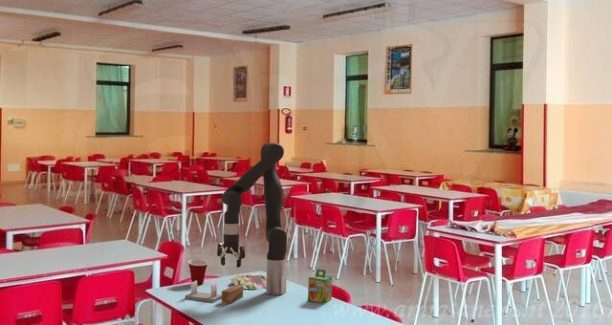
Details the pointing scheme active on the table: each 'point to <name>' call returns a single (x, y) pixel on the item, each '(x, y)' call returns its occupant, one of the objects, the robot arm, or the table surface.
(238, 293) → the brown wooden block
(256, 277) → the city model
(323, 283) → the green yellow handled box
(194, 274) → the plastic cup
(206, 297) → the peg rack
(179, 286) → the table surface
